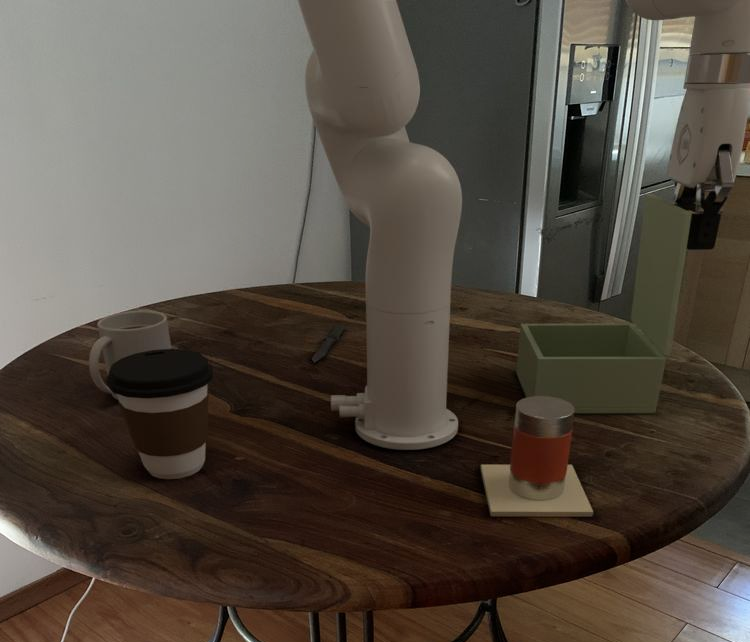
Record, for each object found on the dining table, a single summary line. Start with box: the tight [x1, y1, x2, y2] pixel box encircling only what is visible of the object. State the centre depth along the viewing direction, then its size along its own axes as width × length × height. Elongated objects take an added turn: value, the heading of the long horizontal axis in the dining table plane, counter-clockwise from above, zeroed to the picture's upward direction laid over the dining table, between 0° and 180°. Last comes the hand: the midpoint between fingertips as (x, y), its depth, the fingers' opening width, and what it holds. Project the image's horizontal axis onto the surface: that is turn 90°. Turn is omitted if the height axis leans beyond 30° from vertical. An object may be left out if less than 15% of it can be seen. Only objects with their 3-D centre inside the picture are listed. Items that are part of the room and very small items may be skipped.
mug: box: [88, 310, 172, 401], centre depth 99 cm, size 11×10×10 cm
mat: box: [480, 464, 594, 518], centre depth 76 cm, size 10×10×1 cm
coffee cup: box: [105, 348, 214, 480], centre depth 79 cm, size 11×11×12 cm
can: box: [509, 396, 575, 501], centre depth 74 cm, size 6×6×9 cm
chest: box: [516, 322, 667, 414], centre depth 98 cm, size 16×15×7 cm
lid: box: [630, 193, 695, 356], centre depth 92 cm, size 16×15×5 cm
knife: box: [311, 322, 346, 364], centre depth 118 cm, size 18×1×3 cm
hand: (689, 241), depth 90 cm, fingers closed on lid, 6 cm apart
